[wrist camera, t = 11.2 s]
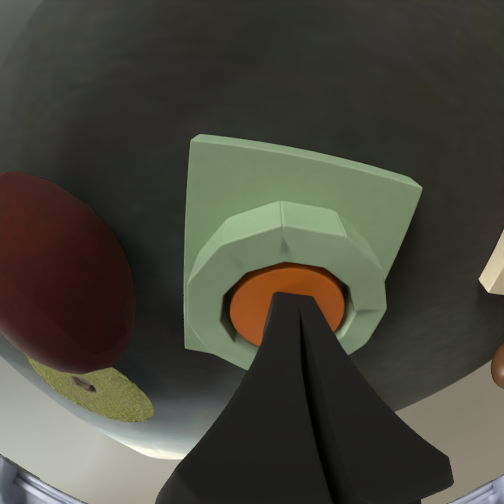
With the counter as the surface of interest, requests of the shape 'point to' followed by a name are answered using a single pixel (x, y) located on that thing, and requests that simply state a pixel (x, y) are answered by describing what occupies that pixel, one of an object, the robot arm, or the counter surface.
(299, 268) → the button
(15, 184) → the potato
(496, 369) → the lever
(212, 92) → the counter surface
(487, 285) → the bracket
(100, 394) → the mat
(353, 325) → the control block
